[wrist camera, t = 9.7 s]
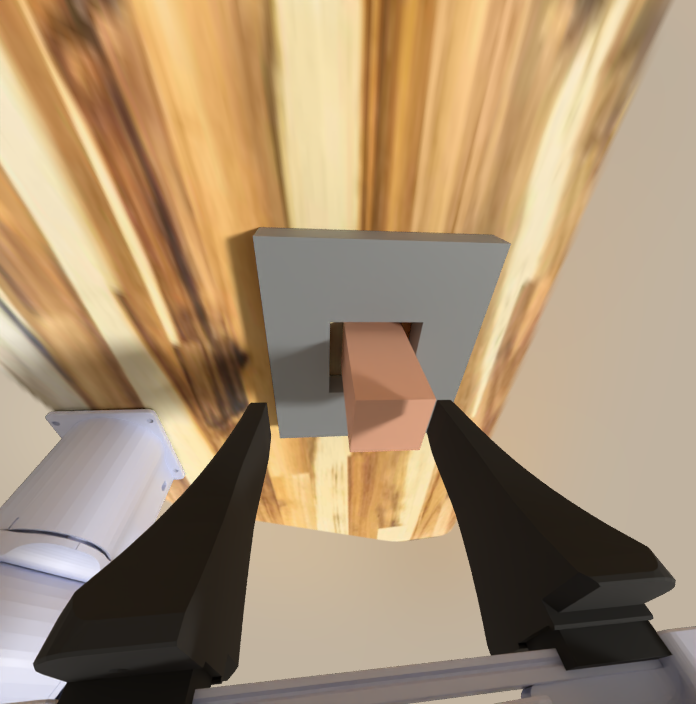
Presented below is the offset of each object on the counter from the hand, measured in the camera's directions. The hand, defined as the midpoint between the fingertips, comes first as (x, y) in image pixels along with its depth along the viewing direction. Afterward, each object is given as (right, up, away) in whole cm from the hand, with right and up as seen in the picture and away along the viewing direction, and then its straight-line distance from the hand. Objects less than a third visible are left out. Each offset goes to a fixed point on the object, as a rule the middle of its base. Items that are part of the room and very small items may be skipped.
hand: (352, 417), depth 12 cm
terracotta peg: (+1, +3, +9) cm, 10 cm away
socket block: (+1, +3, +9) cm, 10 cm away
